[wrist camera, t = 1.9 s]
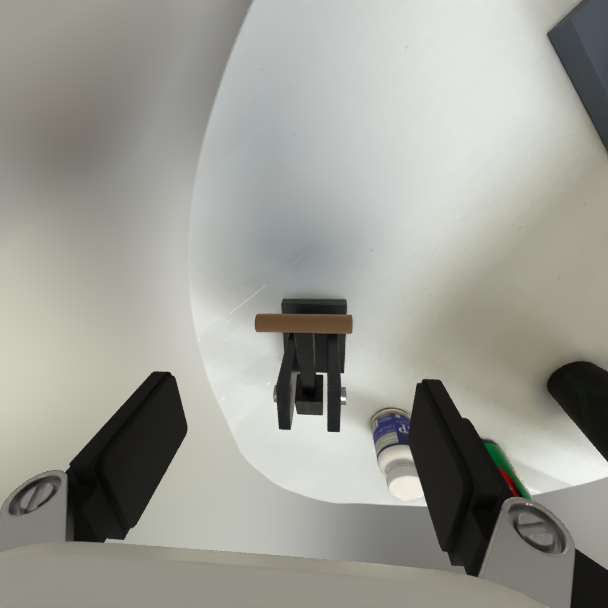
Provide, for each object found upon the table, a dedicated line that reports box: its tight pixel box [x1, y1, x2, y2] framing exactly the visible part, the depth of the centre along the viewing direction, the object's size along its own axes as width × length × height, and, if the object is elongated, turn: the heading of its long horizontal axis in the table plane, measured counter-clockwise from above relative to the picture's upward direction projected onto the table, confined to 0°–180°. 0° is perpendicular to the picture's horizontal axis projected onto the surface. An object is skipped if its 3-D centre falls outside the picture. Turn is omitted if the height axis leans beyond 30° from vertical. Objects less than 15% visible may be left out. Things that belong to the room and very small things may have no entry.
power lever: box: [255, 314, 353, 415], centre depth 20 cm, size 12×6×2 cm, turn 1°
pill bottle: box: [371, 409, 424, 500], centre depth 34 cm, size 5×5×9 cm
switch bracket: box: [273, 299, 347, 432], centre depth 28 cm, size 9×7×12 cm
